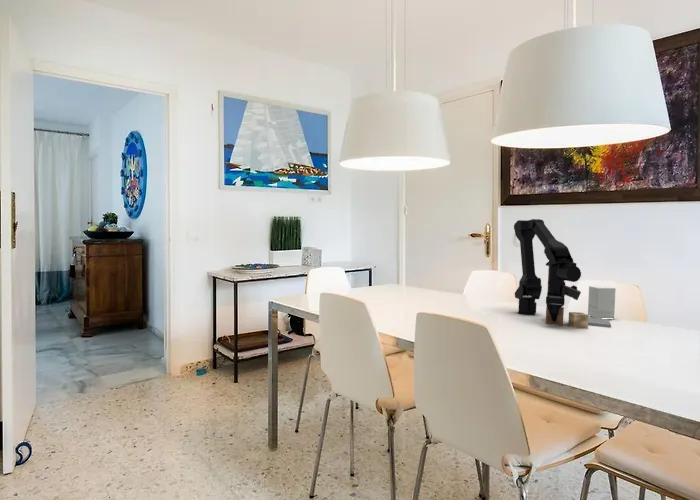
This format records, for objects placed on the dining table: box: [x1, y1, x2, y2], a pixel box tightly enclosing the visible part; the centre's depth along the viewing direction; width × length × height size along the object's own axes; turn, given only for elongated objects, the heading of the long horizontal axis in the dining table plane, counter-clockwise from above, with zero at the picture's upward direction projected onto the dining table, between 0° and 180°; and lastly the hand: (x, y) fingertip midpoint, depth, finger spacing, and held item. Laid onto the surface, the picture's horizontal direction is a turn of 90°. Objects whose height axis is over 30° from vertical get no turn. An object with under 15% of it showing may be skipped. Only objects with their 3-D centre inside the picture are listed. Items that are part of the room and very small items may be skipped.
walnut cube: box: [545, 306, 565, 326], centre depth 177 cm, size 6×6×6 cm
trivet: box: [588, 316, 612, 328], centre depth 179 cm, size 12×12×1 cm
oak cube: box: [567, 311, 590, 329], centre depth 171 cm, size 5×5×5 cm
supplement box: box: [587, 285, 616, 320], centre depth 190 cm, size 7×7×13 cm
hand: (554, 319), depth 177 cm, fingers open, 8 cm apart
